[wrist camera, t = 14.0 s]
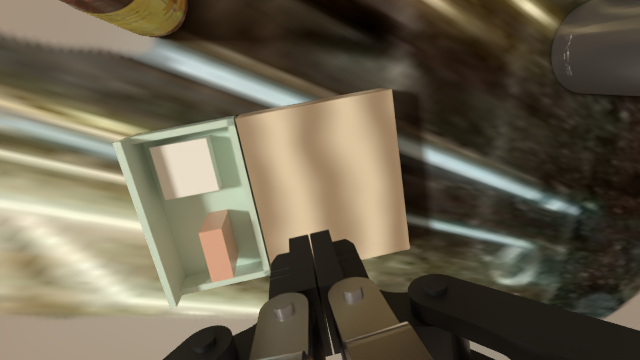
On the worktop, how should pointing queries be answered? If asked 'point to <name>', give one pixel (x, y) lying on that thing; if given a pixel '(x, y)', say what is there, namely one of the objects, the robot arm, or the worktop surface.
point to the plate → (328, 172)
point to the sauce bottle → (137, 14)
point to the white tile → (186, 167)
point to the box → (194, 209)
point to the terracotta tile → (219, 245)
